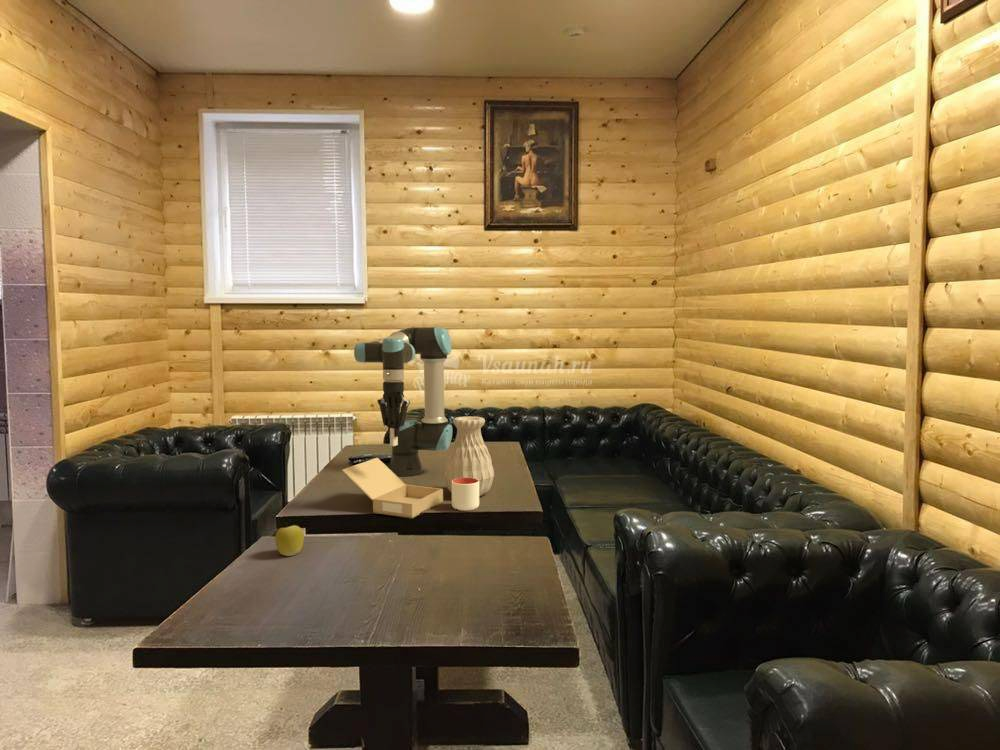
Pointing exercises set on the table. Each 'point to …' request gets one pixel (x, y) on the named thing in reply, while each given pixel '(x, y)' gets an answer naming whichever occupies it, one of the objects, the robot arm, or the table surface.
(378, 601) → the table surface
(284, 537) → the apple
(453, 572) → the table surface
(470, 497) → the cup
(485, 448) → the vase
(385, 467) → the lid
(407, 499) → the box
